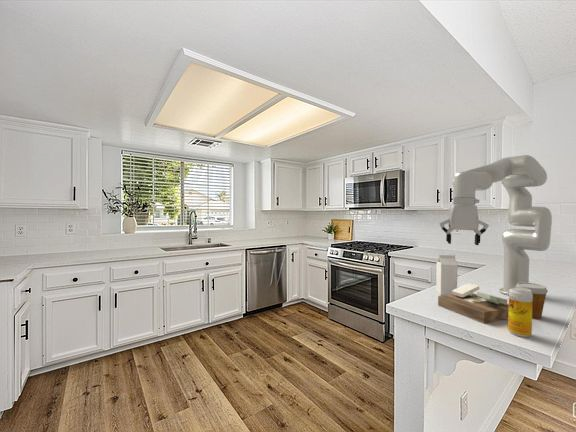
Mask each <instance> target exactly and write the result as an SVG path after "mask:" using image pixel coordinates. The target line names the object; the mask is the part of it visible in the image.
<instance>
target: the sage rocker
mask: <svg viewBox="0 0 576 432" xmlns="http://www.w3.org/2000/svg"><path fill="white" fill-rule="evenodd" d="M476 294H477V296H479V297H483V298H484V300H486V301H489V302H493V303H496V304H499V303H500V302H502V303H507V304H508V299H506V298H503V297H501V296H496V295H492V294H488V293H485V292H479V291H476Z"/></svg>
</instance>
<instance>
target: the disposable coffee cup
mask: <svg viewBox="0 0 576 432" xmlns="http://www.w3.org/2000/svg"><path fill="white" fill-rule="evenodd" d="M516 287H520V288H526V289H529V290H531V292H532V294H533V302H532V320H533V319H535V320H539V319H542V317H543V316H542V315H543V310H544V306H545V302H546V301H545V300H546V296H547V294H548V292H549V290H548V289H547V287H546V286H545V285H542V284H539V283H535V282H534V283H532V282H529V283H526V282H520V283H517V286H516Z"/></svg>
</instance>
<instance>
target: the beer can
mask: <svg viewBox="0 0 576 432" xmlns="http://www.w3.org/2000/svg"><path fill="white" fill-rule="evenodd" d="M532 302H533V294H532V292H531V290H529V289H526V288H520V287H511V289H510V290H509V295H508V304H509V313H508V319H507V321H508V322H507V324H508V325H507V330H508V331H509V333H510V334H512V335H514V336H517V337H520V338H529V337H530V336H531V335H532V333H533V332H532V331H533V327H532V325H533V318H532Z"/></svg>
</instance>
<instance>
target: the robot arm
mask: <svg viewBox="0 0 576 432" xmlns="http://www.w3.org/2000/svg"><path fill="white" fill-rule="evenodd" d="M547 179H548V173H547V171H546V170H545V168H544V167H543V166H542V165H541V163H539V161H538V160H537V159H536V158H535V157H533V156H532V155H528V154H525V155H516V156H515V155H514V156H508V157H503V158H501V159H498V160H496V161H494V162H492V163H489V164H486V165H482V166H478V167H475V168H472V169H469V170H464V171H457V172H456V173H455V174H454V176H453V181H452V185H453V200H452V201H453V205H451V206H450V209H449V213H448V219H447V220H444V221H441V222H439V226H440V228H441V230H442V231H443V232H444V233H446V234H445V235H446V236H445V237H446V238H445V240H446V242H447V244H450V245H451V243H452V232H453V231H472V232H474V233H475V235H474V245H475V246H479V244H480V243H481V236H482V235H483V234H484V233H485V232H486V231H487V229H488V228H489V227H490V226H489V224H488V223H486V222H485V221H482V220H480V219H479V211H478V210H479V209H478V206H477V205H476V204H479V203H480V199H477V198H476V191H481V192H482V191H486V190H489V189H490V188H491V187H492V186H493V184H494V183H498V182H501V184H502V186H503V187H504V189H505V190H506V191H507V193H508V196H509V203H508V212H507V221H508V223H509V224H510V225H511V226H514V227H515V226H516V227H530V228H535V229H526V228H525V229H524V228H510V229H506V230H504V232H503V233H502V236H501V239H502V244H503V257H504V258H503V285H502V287H500V288H499V293H501V294H503V295H506V296H509V290H510V289H511V287H516V286H517V283H520V282H526V283H530V282H529V281H530V280H529V279H530V256H529V255H528V254H527V252H526V251H525V250H527V251H535V252H536V251H537V252H544V251H547V250H548V249H549V246H550V243H551V236H552V235H551V234H552V222H553V221H552V220H553V217H552V212H551V210H550V209H549V208H547V207H546V206H533V204H532V202H533V196H532V193H531V192H530V191H529V190H528V189H527V188H535V187H542V186H543V185H545V183H546V182H547ZM446 224H447V225H448V229H447V228H446V227H445V225H446ZM479 225H481V226H483V227H482V228H481V229H479V227H480V226H479Z"/></svg>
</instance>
